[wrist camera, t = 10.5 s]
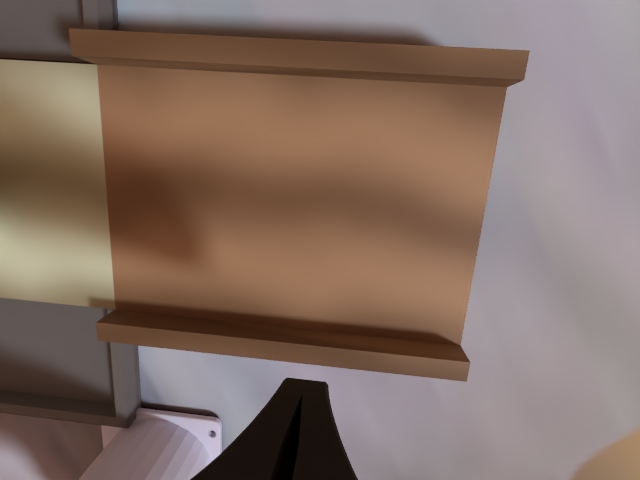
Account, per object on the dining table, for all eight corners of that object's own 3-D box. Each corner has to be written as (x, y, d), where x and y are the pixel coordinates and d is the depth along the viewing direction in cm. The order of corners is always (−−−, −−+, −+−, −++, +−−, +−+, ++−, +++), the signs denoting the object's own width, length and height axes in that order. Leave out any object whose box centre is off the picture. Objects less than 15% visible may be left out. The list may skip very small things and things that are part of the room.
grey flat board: (141, 411, 23) (127, 428, 22) (-28, 390, 24) (-52, 405, 23) (109, -122, 16) (85, -149, 15) (-126, -126, 17) (-170, -152, 16)
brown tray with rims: (441, 353, 20) (466, 407, 16) (-66, 300, 23) (-166, 334, 18) (492, 52, 17) (542, 15, 12) (-123, 21, 19) (-266, -19, 14)
